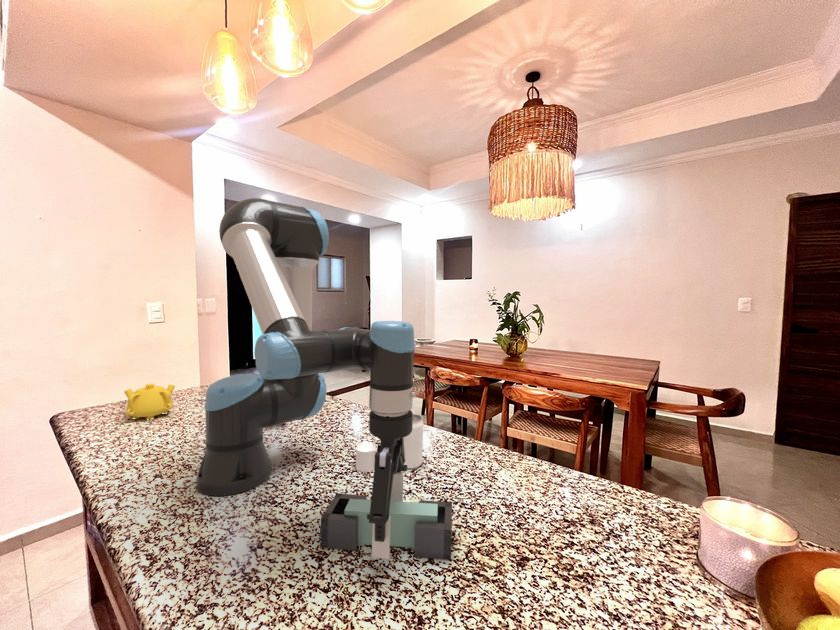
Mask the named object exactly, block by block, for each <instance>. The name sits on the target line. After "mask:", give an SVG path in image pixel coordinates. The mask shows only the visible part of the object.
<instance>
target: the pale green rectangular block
mask: <svg viewBox="0 0 840 630" xmlns="http://www.w3.org/2000/svg"><path fill="white" fill-rule="evenodd" d="M370 506H371V499H367V500H362V499H350V500H349V502H348V504H347V506H346V508H345V510H344V515H351V516H358V545H367V546H369V545H370V546H372V523H369V519H367V514H370ZM437 513H438V504H431V503H419V502H413V501H411V502H410V501H403V502H397V501H390V509H389V515H390V547H396V548H397V547H399V548H413V549H414V547H415V524H416V521H420V522H431V523H437Z"/></svg>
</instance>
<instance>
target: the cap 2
mask: <svg viewBox="0 0 840 630" xmlns="http://www.w3.org/2000/svg"><path fill="white" fill-rule="evenodd" d="M418 503H431V504H438V513H437V523H431V522H420V521H416V524H415V547H414V548H413V549H414V553H413V554H414V555H413V556H414V557H415V558H428V559H438V560H447V561H451V560H452V532H453V531H452V530H453V529H452V527H453V526H452V524H453V521H452V520H453V512H452V511H453V502H449V501H447V502H446V501H436V500H435V501H434V500H427V499H426V500H424V499H419V502H418Z"/></svg>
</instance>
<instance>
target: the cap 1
mask: <svg viewBox="0 0 840 630" xmlns="http://www.w3.org/2000/svg"><path fill="white" fill-rule="evenodd" d="M350 499H362V500H368V495H363V494H362V495H361V494H352V493H351V494H350V493H349V494H348V493H341V492H340V493H338V492H336V493H335V495H334V497H333V498H332V499H331V501H330V503H329V504H328V506H327V507H326V510H325V511H324V513H323V514H322V516H321V518H320V548H324V549H335V550H344V551H356V550H357V547H358V545H359V544H358V516H351V515H344V510H345V508H346V506H347V504H348V502H349V500H350Z"/></svg>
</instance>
